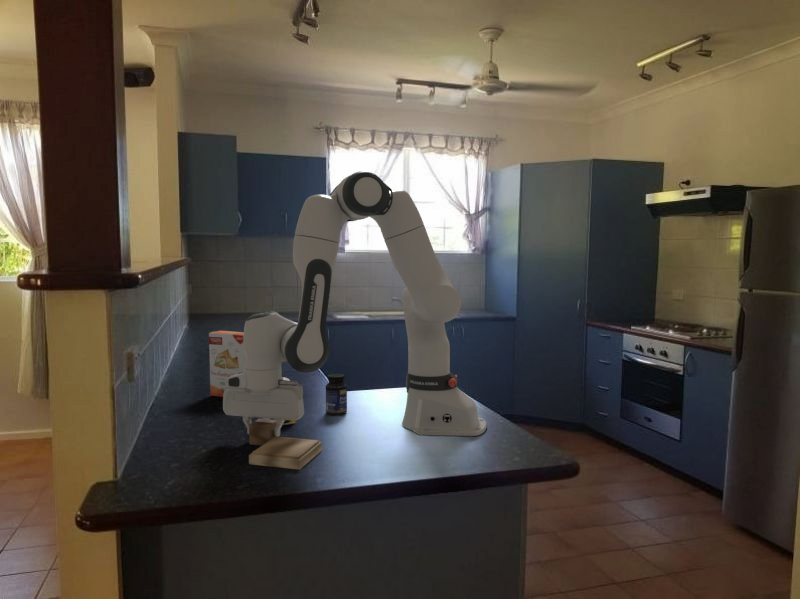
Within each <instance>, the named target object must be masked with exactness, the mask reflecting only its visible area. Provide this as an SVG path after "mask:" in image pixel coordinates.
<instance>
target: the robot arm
mask: <svg viewBox="0 0 800 599" xmlns="http://www.w3.org/2000/svg"><path fill="white" fill-rule="evenodd" d="M367 218H371V219H373V220H374V221H375V222H376V223H377V225H378V227H379V228H380V229H379V230H380V232H381V234H382V237H383V240H384V243H385V245H386V248H387V251H388V254H389V256H390V259H391V261H392V264H393V267H394V269H395V271H396V272H397V273H398V275H399V276H400V277H401V280H402V282H403V283H404V285H405V287H404V288H403V290H402V292H401V296H400V298H401V300H400V301H401V304H402V308H403V317H404V322H405V323H404V324H405V329H406V330H405V331H406V336H407V344H408V345H407V347H408V353H407V354H408V356H407V357H408V358H407V359H408V362H407V363H408V365H407V367H408V368H407V369H408V370H407V372H406V379H405V389H406V393H407V396H406V404H405V409H404V410H405V411H404V416H403V417H402V418H403V419H402V422H401V424H402V426H403V427H405V428H406V429H407V430H411V431H413V432H414V433H416V434H417V435H420V436H421V435H422V436H425V435H426V436H456V437H457V436H458V437H459V436H460V437H461V436H463V437H464V436H465V437H476V436H480V435H482V434H483V433H484V432H485V431H486V429H487V421H486V420H485V419H484V418H482V417H480V416H479V412H478V408H477V404H476V402H475V400H474V399H472V398H471V397H469V396H468V394H466V393H465V392H464V391H462V390H461V389H460V388H459V387H458V374H453V373H451V371H450V366H451V364H450V363H451V361H450V356H451V355H450V353H451V352H450V351H451V350H450V348H451V345H450V344H451V343H450V341H449V339H448V335H447V331H446V326H445V323H448V322H450V321H452V320H454V319H455V318H456V317H457V316H458V315H459V313H460V310H461V308H462V299H461V295H460V293H459V291H458V290H457V289H456V288H455V286H453V284H452V281H450V279H449V276H448V275H447V273H446V271H445V269H444V267H443V266H442V264H441V263H440V261H439V259H438V257H437V254H436V253H435V250H434V248H433V245H432V243H431V239H430V238H429V235H428V232H427V230H426V226H425V224H424V221H423V219H422V216H421V214H420V212H419V210H418V208H417V205H416V203H415V202H414V200H413V199H412V196H411V195H410V194H409V193H408V191H406V190H404V189H400V188H398V189H397V188H394V189H392V188H391V187H390V186H389V185H387V184H386V183H385V182H384V180H383V179H381V177H379V175H377V174H375V173H373V172H371V171H368V170H363V171H360V170H359V171H357V172H353V173H352V174H349V175H347V176H346V177H345V178H343V179H342V180H341V181H340V183H338V184H337V185H336V186H335V187H334V188H333V190H332V191H331V192H330V194H328V195H327V194H322V193H321V194H318V193H317V194H314V195H310V196H308V197H307V198H306V199H305V201H304V202H303V205H302V208H301V210H300V213H299V216H298V220H297V224H296V227H295V231H294V237H293V243H292V245H293V246H292V263H293V266H294V267H295V269H296V271H297V273H298V276H299V277H300V282H301V298H300V306H299V311H298V319H297V322H296V321H293V320H291V319H289V318H286V317H285V316H282V315H281V314H279V313H278V312H277V311H273V310H272V311H270V310H269V311H260V312H257V313H254V314H252V315H250V316H249V317H248V318H247V319H246V320H245V323H244V328H243V332H244V336H243V350H244V353H245V363H244V372H240V373H238V374H235V375H233V376H230V377H228V378H226V379H225V385H226V386H227V388H226V389H225V390H224V394H223V397H222V410H223V412H224V413H225V415H226V416H237V417H242V421H243V423H244V425H245V427H246V429H247V430H246V431H247V435H249V424H251V423H252V422H253V421H252V419H253V418H257V419H259V418H260V419H263V418H270V419H275V423H278V424H277V426H276V428H274V429H272V436H274V437H281V428H282V427H283V426H284V425H283V423H284V421H285V420H294V421H295V422H296V421H298V420H300V419H302V417H303V416H304V415H305V405H304V404H305V403H304V398H303V396H304V387H303V385H302V384H300V382H298V380H297V381H296V380H290V381H287V380H282V377H283V376H282V363H283V362H286V363H287V362H288V364H289V366H290V367H291V368H292V369H293V370H295V371H297V372H300V373H305V374H306V373H313V372H316V371H317V370H319V369H321V368H322V367H323V366H324V365H325V364H326V362H327V360H328V358H329V355H330V344H329V343H330V342H329V338H328V335H327V329H326V328H327V317H328V309H329V308H328V307H329V300H330V293H331V285H332V284H331V283H332V279H333V278H332V277H333V273H334V269H335V265H336V261H337V257H338V253H339V248H340V247H339V246H340V241H341V240H340V239H341V234H342V230H343V227H344V225H345V224H346V223H347V222H355V221H359V220H364V219H367Z"/></svg>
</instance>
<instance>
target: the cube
mask: <svg viewBox="0 0 800 599" xmlns="http://www.w3.org/2000/svg"><path fill="white" fill-rule="evenodd" d="M277 424H278V423H275V420H272V419H263V418H257V419H256V420H255V421H252V423H251V424H249V434H248V435H249V437H248V438H249V445H254V446H260V447H261V446H262V445H264V444H265V443H267V442H268V441H270V440H271V439H273V438H274V436H272V429H274V428H276V426H277Z"/></svg>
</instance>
